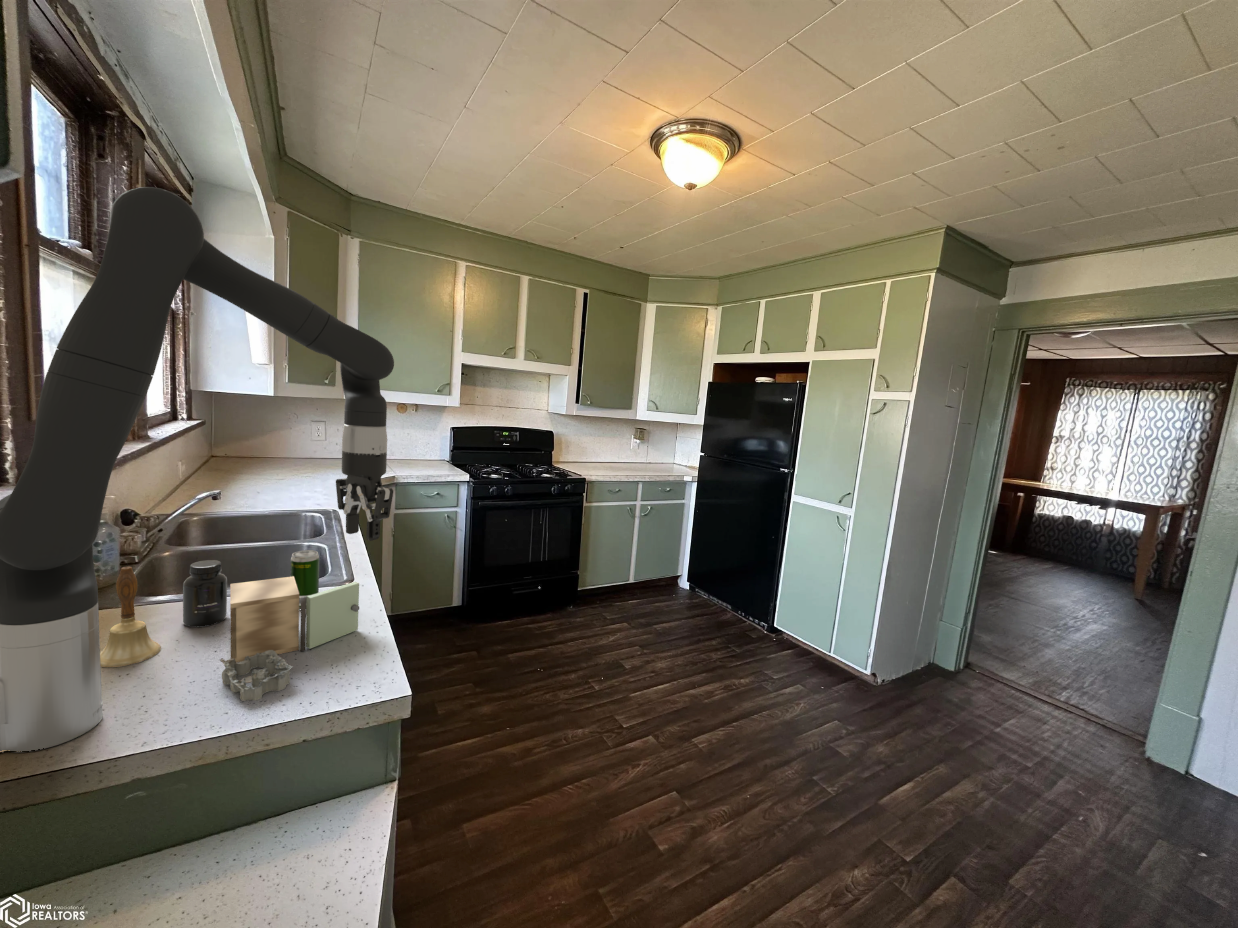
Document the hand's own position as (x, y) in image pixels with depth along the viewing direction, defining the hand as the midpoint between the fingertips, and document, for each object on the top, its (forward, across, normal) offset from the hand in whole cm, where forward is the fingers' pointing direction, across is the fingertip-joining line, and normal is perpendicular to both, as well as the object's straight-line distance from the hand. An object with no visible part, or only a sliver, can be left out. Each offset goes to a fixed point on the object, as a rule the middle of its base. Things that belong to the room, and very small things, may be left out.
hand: (362, 535), depth 95 cm
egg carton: (+22, -1, -18) cm, 28 cm away
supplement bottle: (+22, -30, -13) cm, 40 cm away
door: (+21, -4, -2) cm, 22 cm away
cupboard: (+21, -12, -11) cm, 27 cm away
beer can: (+22, -24, +3) cm, 32 cm away
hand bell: (+22, -25, -26) cm, 42 cm away
